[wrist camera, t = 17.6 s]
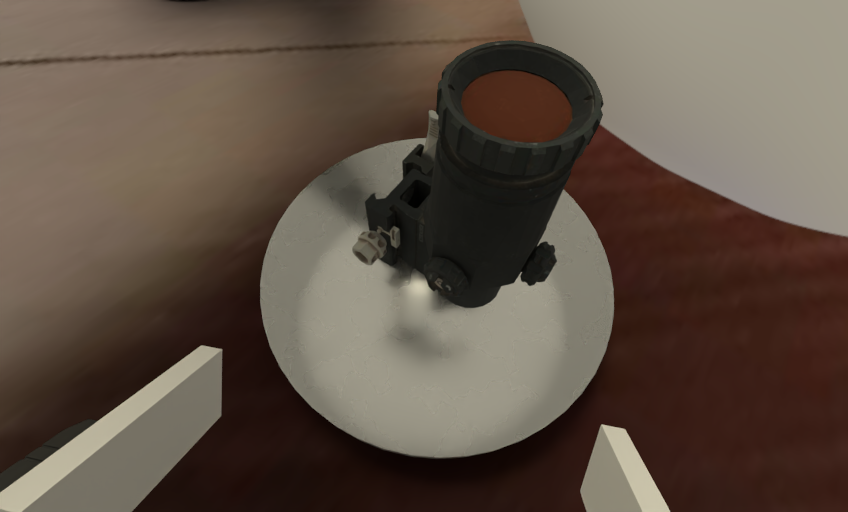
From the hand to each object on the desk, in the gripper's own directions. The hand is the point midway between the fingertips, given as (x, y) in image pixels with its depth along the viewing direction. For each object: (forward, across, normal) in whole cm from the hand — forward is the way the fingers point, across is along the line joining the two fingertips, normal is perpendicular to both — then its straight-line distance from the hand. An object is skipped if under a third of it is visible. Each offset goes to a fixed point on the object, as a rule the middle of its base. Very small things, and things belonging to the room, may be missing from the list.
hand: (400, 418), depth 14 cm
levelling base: (+15, 0, -1) cm, 15 cm away
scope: (+13, +1, +2) cm, 13 cm away
